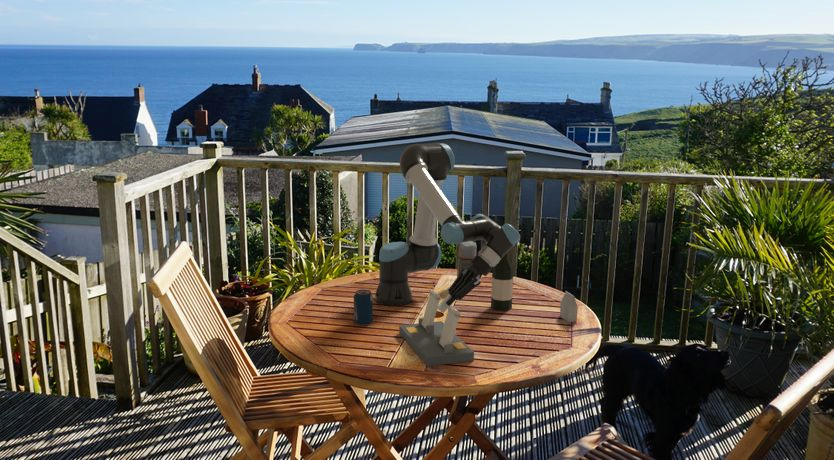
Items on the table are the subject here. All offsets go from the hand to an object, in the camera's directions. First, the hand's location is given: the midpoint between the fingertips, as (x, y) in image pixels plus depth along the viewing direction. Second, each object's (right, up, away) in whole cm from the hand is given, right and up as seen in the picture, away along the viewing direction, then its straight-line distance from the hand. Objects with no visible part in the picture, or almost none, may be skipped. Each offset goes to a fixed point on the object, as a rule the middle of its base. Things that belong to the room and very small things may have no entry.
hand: (439, 310), depth 238 cm
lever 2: (+1, -10, -17) cm, 19 cm away
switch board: (-2, -11, -7) cm, 14 cm away
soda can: (-28, -6, +14) cm, 32 cm away
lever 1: (-5, -6, 0) cm, 8 cm away
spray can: (+14, +4, +63) cm, 64 cm away
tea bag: (+50, -6, +22) cm, 55 cm away
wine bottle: (+26, -3, +34) cm, 42 cm away
